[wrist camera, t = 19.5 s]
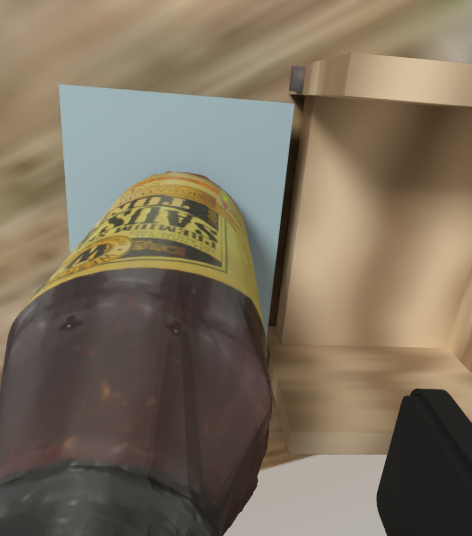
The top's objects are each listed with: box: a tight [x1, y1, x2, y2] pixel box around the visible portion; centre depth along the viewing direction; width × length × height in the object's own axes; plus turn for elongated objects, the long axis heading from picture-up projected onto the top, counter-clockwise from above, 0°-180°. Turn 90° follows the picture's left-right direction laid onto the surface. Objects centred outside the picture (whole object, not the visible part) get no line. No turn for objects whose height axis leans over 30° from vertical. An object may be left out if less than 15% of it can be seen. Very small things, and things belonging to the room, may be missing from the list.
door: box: [59, 84, 294, 339], centre depth 22 cm, size 10×12×2 cm
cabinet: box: [266, 53, 472, 454], centre depth 21 cm, size 12×16×9 cm
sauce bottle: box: [0, 171, 272, 536], centre depth 12 cm, size 7×6×20 cm
